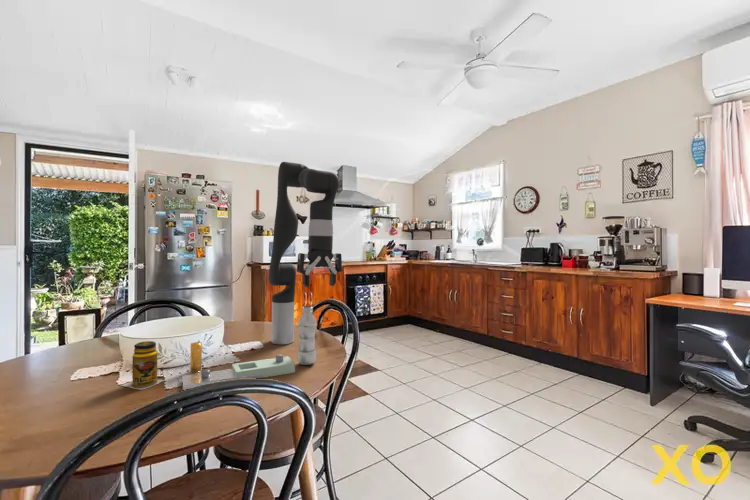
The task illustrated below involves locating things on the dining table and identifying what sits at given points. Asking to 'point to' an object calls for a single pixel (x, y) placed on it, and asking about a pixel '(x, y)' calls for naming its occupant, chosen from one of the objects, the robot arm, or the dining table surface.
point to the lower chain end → (212, 377)
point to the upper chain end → (265, 367)
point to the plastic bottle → (307, 337)
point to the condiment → (144, 366)
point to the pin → (196, 357)
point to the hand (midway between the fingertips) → (319, 286)
